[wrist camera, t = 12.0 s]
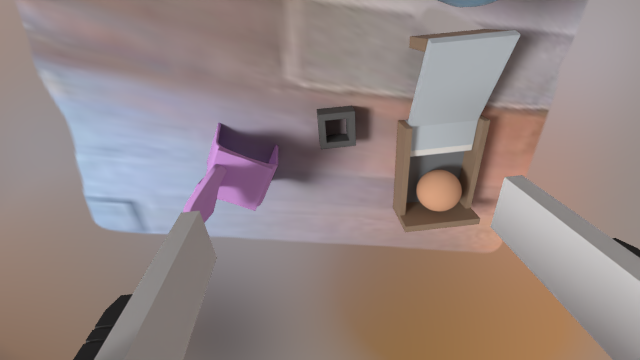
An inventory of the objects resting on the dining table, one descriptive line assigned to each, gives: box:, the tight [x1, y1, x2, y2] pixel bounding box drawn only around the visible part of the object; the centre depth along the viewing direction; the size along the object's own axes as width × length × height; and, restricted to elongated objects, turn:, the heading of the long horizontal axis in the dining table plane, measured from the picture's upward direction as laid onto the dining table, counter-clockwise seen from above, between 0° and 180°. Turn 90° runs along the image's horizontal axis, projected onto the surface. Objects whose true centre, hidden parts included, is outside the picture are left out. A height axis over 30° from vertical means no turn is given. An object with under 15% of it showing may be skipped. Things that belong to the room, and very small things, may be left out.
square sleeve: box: [317, 106, 356, 149], centre depth 37 cm, size 5×5×2 cm
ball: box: [416, 170, 462, 211], centre depth 41 cm, size 6×6×6 cm
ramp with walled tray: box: [393, 29, 521, 232], centre depth 37 cm, size 25×11×6 cm, turn 5°
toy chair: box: [183, 123, 278, 223], centre depth 33 cm, size 8×9×15 cm
